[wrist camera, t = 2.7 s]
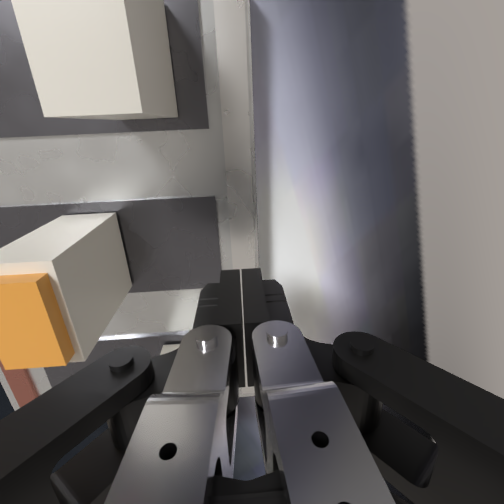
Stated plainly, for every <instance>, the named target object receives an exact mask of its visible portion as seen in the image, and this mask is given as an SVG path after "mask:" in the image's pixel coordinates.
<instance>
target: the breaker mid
mask: <svg viewBox="0 0 504 504" xmlns="http://www.w3.org/2000/svg"><path fill="white" fill-rule="evenodd" d="M131 287H132V282H131V278H130V274H129V269H128V265H127V260H126V256H125V251H124V247H123V242H122V238H121V233H120V229H119V225H118V220H117V216H116V213H98V214H79V215H62V216H60V217H58V218H56V219H55V220H53V221H51V222H49V223H47V224H45V225H43V226H41V227H39V228H38V229H36V230H34V231H32V232H30V233H28V234H26V235H24V236H23V237H21V238H19V239H17V240H15V241H13V242H11V243H9V244H8V245H6V246H4V247H2V248H0V360H1V362H2V364H3V366H4V368H5V370H12V369H26V368H40V367H54V366H66V365H67V364H68V363H69V362H83V361H86V359H87V358H88V356H89V354H90V353H91V351H92V350H93V348H94V346H95V345H96V343H97V342H98V340H99V338H100V337H101V335H102V334H103V332H104V330H105V329H106V327H107V326H108V324H109V322H110V321H111V319H112V318H113V316H114V314H115V313H116V311H117V310H118V308H119V306H120V305H121V303H122V302H123V300H124V298H125V297H126V295H127V294H128V292H129V290H130V289H131Z"/></svg>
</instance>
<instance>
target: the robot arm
mask: <svg viewBox="0 0 504 504" xmlns="http://www.w3.org/2000/svg"><path fill="white" fill-rule="evenodd" d="M241 272H242V293H243V315H244V333H245V350H246V367H247V384H248V387H252V386H254V391H255V407H256V416H257V422H258V428H259V434H260V441H261V447H262V453H263V459H264V465H265V472H266V475H263V476H261V477H258V478H255V479H253V480H249V481H242V480H237V479H233V466H234V453H235V440H236V427H237V413H238V410H237V404H238V401H239V388H240V387H245V363H244V339H243V316H242V298H241V282H240V269H232V270H221V274H220V283H208V284H207V285H206V286H205V287H204V288H203V289H202V290H201V291H200V296H199V300H198V305H197V310H196V314H195V319H194V324H193V329H192V330H190V331H189V332H188V333H186V334H185V335H184V337H183V338H182V340H181V343H180V346H179V348H178V349H176V350H174V351H171V352H169V353H165V354H162V355H159V356H155V357H152V358H151V355H150V352H149V351H148V350H147V349H146V348H144V347H141V346H125V347H121V348H118V349H115V350H113V351H111V352H109V353H107V354H105V355H104V356H102V357H101V358H99V359H97V360H96V361H94V362H93V363H91V364H89V365H88V366H86V367H85V368H83V369H81V370H80V371H78V372H77V373H75V374H73V375H72V376H70V377H69V378H67V379H65V380H64V381H62V382H61V383H59V384H57V385H56V386H54V387H53V388H51V389H49V390H48V391H46V392H45V393H43V394H41V395H40V396H38V397H37V398H35V399H34V400H32V401H30V402H29V403H27V404H26V405H24V406H22V407H21V408H19V409H18V410H16V411H14V412H13V413H11V414H10V415H8V416H6V417H5V418H3V419H2V420H0V504H409V503H407V502H406V501H404V500H403V499H402V498H400V497H399V496H397V495H396V494H394V493H392V492H390V491H389V489H388V487H387V485H386V483H385V481H384V479H385V480H387V481H388V482H389V483H390V484H392V485H393V486H394V487H395V488H396V489H398V490H399V491H400V492H401V493H402V494H404V495H405V496H406V497H407V498H409V499H410V500H411V501H412V502H413V503H415V504H504V399H502V398H500V397H498V396H496V395H494V394H492V393H490V392H488V391H486V390H484V389H482V388H480V387H478V386H476V385H474V384H472V383H469V382H467V381H465V380H463V379H461V378H459V377H457V376H455V375H453V374H451V373H449V372H447V371H445V370H443V369H441V368H439V367H437V366H434V365H433V364H431V363H429V362H426V361H424V360H422V359H420V358H418V357H416V356H414V355H412V354H410V353H408V352H406V351H404V350H402V349H400V348H398V347H396V346H394V345H392V344H390V343H387V342H385V341H383V340H381V339H379V338H377V337H375V336H373V335H370V334H367V333H363V332H346V333H343V334H341V335H339V336H338V337H337V338H336V339H335V340H334V343H333V345H331V344H325V343H319V342H315V341H311V340H309V339H307V338H305V337H303V335H302V332H301V331H300V329H299V328H298V327H297V326H295V325H294V324H293V321H292V317H291V314H290V311H289V307H288V304H287V302H286V297H285V295H284V291H283V287H282V285H281V284H279V283H278V282H277V281H276V280H275V279H274V280H262V276H261V270H260V268H249V269H241ZM383 403H384V404H385V405H387V406H388V407H390V408H391V409H393V410H394V411H396V412H398V413H399V414H401V415H402V416H404V417H405V418H407V419H408V420H410V421H412V422H413V423H415V424H416V425H418V426H419V427H421V428H422V429H424V430H425V431H426V432H428V433H429V434H430V435H431V436H432V438H433V439H434V440H435V442H436V443H434V442H432V441H431V440H429V439H428V438H426V437H425V436H423V435H422V434H420V433H419V432H417V431H416V430H414V429H412V428H411V427H409V426H408V425H406V424H405V423H403V422H402V421H400V420H399V419H397V418H396V417H394V416H393V415H391V414H390V413H388V412H387V411H385V410H383V409H382V405H383ZM106 421H107V424H108V429H107V430H106V431H104V432H103V433H102V434H101V435H100V436H98V437H97V438H96V439H95V440H94V441H92V442H91V443H90V444H89V445H87V446H86V447H85V448H84V449H83V450H81V451H80V452H79V453H78V454H77V455H75V456H74V457H73V458H72V459H71V460H69V461H68V462H67V463H66V464H65V465H63V466H62V467H61V468H60V469H59V470H57V471H56V472H55V473H53V474H51V472H52V470H53V468H54V466H55V465H56V463H57V462H58V461H59V460H60V459H61V458H62V457H63V456H64V455H65V454H66V453H68V452H69V451H70V450H71V449H73V448H74V447H75V446H76V445H78V444H79V443H80V442H81V441H83V440H84V439H85V438H86V437H88V436H89V435H90V434H91V433H92V432H94V431H95V430H96V429H97V428H99V427H100V426H101V425H102V424H104V423H105V422H106ZM383 478H384V479H383Z"/></svg>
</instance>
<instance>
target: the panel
mask: <svg viewBox="0 0 504 504" xmlns="http://www.w3.org/2000/svg"><path fill="white" fill-rule="evenodd" d="M164 7H165V15H166V23H167V31H168V39H169V47H170V55H171V63H172V71H173V79H174V87H175V95H176V103H177V111H178V117H177V118H153V119H130V120H107V119H80V118H53V117H44V114H43V111H42V107H41V104H40V100H39V97H38V93H37V90H36V86H35V83H34V79H33V76H32V72H31V69H30V65H29V62H28V58H27V55H26V51H25V48H24V44H23V41H22V37H21V34H20V30H19V27H18V23H17V20H16V16H15V13H14V9H13V5H12V2H11V0H0V248H2V247H4V246H6V245H8V244H9V243H11V242H13V241H15V240H17V239H19V238H21V237H23V236H24V235H26V234H28V233H30V232H32V231H34V230H36V229H38V228H39V227H41V226H43V225H45V224H47V223H49V222H51V221H53V220H55V219H56V218H58V217H60V216H62V215H79V214H98V213H116V216H117V220H118V225H119V229H120V233H121V238H122V242H123V247H124V251H125V256H126V260H127V265H128V269H129V274H130V278H131V282H132V287H131V289H130V290H129V292H128V294H127V295H126V297H125V298H124V300H123V302H122V303H121V305H120V306H119V308H118V310H117V311H116V313H115V314H114V316H113V318H112V319H111V321H110V322H109V324H108V326H107V327H106V329H105V330H104V332H103V334H102V335H101V337H100V338H99V340H98V342H97V343H96V345H95V346H94V348H93V350H92V351H91V353H90V354H89V356H88V358H87V359H86V361H83V362H69V363H68V364H67V365H66V366H54V367H40V368H26V369H12V370H5V368H4V366H3V364H2V362H1V360H0V382H1V384H2V386H3V388H4V390H5V392H6V394H7V396H8V398H9V400H10V402H11V404H12V406H13V408H14V410H15V411H16V410H18V409H19V408H21V407H22V406H24V405H26V404H27V403H29V402H30V401H32V400H34V399H35V398H37V397H38V396H40V395H41V394H43V393H45V392H46V391H48V390H49V389H51V388H53V387H54V386H56V385H57V384H59V383H61V382H62V381H64V380H65V379H67V378H69V377H70V376H72V375H73V374H75V373H77V372H78V371H80V370H81V369H83V368H85V367H86V366H88V365H89V364H91V363H93V362H94V361H96V360H97V359H99V358H101V357H102V356H104V355H105V354H107V353H109V352H111V351H113V350H115V349H118V348H121V347H125V346H141V347H144V348H146V349H147V350H148V351H149V352H150V355H151V358H152V357H155V356H159V355H160V353H161V350H162V347H163V345H170V344H180V343H181V340H182V338H183V337H184V335H185V334H186V333H188V332H189V331H190V330H192V329H193V324H194V319H195V314H196V310H197V305H198V300H199V296H200V291H201V290H202V289H203V288H204V287H205V286H206V285H207V284H208V283H220V274H221V270H232V269H240V282H241V298H242V316H243V339H244V363H245V387H240V388H239V397H248V396H255V391H254V386H252V387H248V384H247V367H246V350H245V333H244V315H243V293H242V272H241V269H249V268H259V258H258V229H257V200H256V172H255V143H254V114H253V85H252V57H251V28H250V0H164Z"/></svg>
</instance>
